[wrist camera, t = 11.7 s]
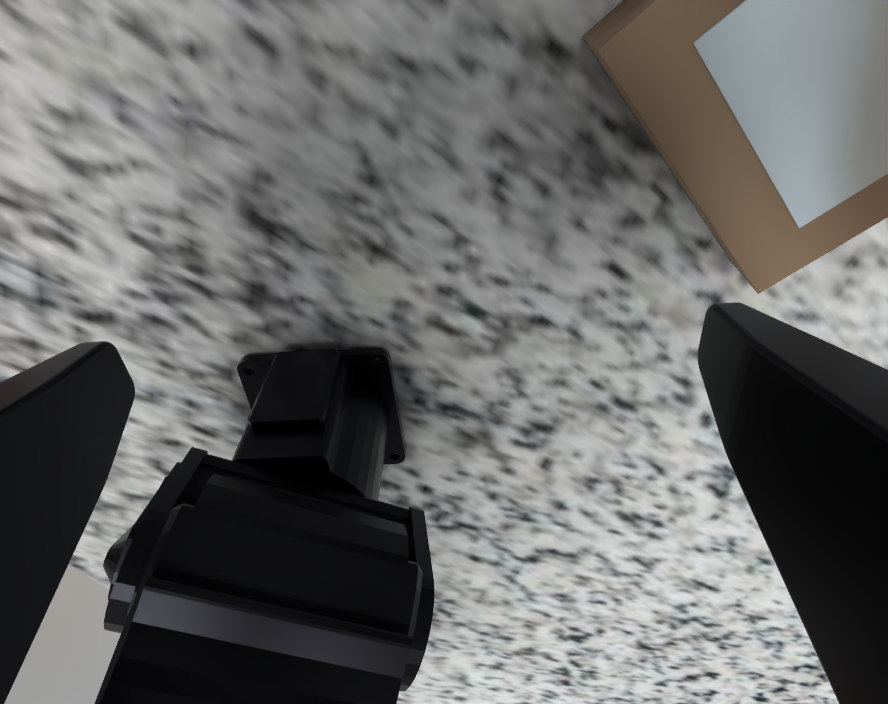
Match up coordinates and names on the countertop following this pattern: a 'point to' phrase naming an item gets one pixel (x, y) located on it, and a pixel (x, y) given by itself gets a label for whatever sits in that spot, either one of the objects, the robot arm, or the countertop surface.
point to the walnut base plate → (761, 117)
